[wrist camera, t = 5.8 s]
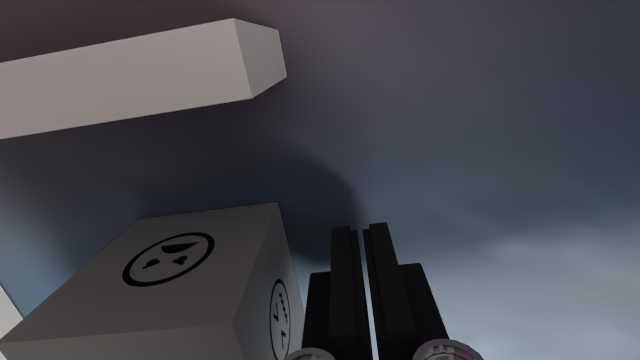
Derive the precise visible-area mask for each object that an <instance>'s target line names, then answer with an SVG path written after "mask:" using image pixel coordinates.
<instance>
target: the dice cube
mask: <svg viewBox="0 0 640 360" xmlns="http://www.w3.org/2000/svg"><path fill="white" fill-rule="evenodd" d="M304 319H305V314H304V310H303V306H302V301H301V297H300V293H299V289H298V285H297V280H296V276H295V272H294V268H293V264H292V259H291V255H290V251H289V247H288V242H287V238H286V234H285V230H284V226H283V221H282V217H281V213H280V209H279V205H278V202H272V203H264V204H256V205H248V206H240V207H232V208H224V209H216V210H208V211H201V212H193V213H185V214H177V215H169V216H161V217H153V218H145V219H137V220H136V221H135V222H134V223H133V224H132V225H131V226H129V227H128V228H127V229H126V230H125V231H124V232H123V233H121V234H120V235H119V236H118V237H117V238H116V239H114V240H113V241H112V242H111V243H110V244H109V245H108V246H106V247H105V248H104V249H103V250H102V251H101V252H100V253H98V254H97V255H96V256H95V257H94V258H93V259H92V260H90V261H89V262H88V263H87V264H86V265H85V266H84V267H82V268H81V269H80V270H79V271H78V272H77V273H75V274H74V275H73V276H72V277H71V278H70V279H69V280H67V281H66V282H65V283H64V284H63V285H62V286H61V287H59V288H58V289H57V290H56V291H55V292H54V293H53V294H51V295H50V296H49V297H48V298H47V299H46V300H45V301H43V302H42V303H41V304H40V305H39V306H38V307H36V308H35V309H34V310H33V311H32V312H31V313H30V314H28V315H27V316H26V317H25V318H24V319H23V320H22V321H20V322H19V323H18V324H17V325H16V326H15V327H14V328H12V329H11V330H10V331H9V332H8V333H7V334H6V335H4V336H3V337H2V338H1V339H0V351H1V353H2V354H3V355H4V357H5V358H6V359H7V360H283V359H284V358H285V357H287V356H288V355H290V354H291V353H293V352H295V351H297V350H300V349H301V345H302V336H303V328H304Z"/></svg>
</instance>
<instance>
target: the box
mask: <svg viewBox="0 0 640 360" xmlns="http://www.w3.org/2000/svg"><path fill="white" fill-rule="evenodd" d="M286 77H287V73H286V68H285V62H284V57H283V52H282V47H281V42H280V36H279V31H278V30H277V29H273V28H269V27H265V26H261V25H257V24H254V23H250V22H246V21H242V20H238V19H235V18H231V19H226V20H221V21H215V22H210V23H205V24H200V25H195V26H189V27H184V28H179V29H174V30H169V31H163V32H158V33H153V34H148V35H143V36H137V37H132V38H127V39H122V40H116V41H111V42H106V43H101V44H96V45H90V46H85V47H80V48H75V49H70V50H64V51H59V52H54V53H49V54H44V55H38V56H33V57H28V58H23V59H17V60H12V61H7V62H2V63H0V139H5V138H11V137H17V136H24V135H30V134H36V133H42V132H48V131H54V130H61V129H67V128H73V127H79V126H85V125H91V124H97V123H104V122H110V121H116V120H122V119H128V118H134V117H141V116H147V115H153V114H159V113H165V112H171V111H177V110H184V109H190V108H196V107H202V106H208V105H214V104H221V103H227V102H233V101H239V100H245V99H251V98H254V97H255V96H257V95H258V94H260V93H262V92H263V91H265V90H266V89H268V88H270V87H271V86H273V85H274V84H276V83H278V82H279V81H281V80H282V79H284V78H286ZM22 320H23V318H22V316H21V315H20V313H19V312H18V310H17V309H16V307H15V306H14V305H13V303H12V302H11V300H10V299H9V297H8V296H7V294H6V293H5V291H4V290H3V288H2V287H1V286H0V339H1V338H2V337H3V336H4V335H6V334H7V333H8V332H9V331H10V330H11V329H12V328H14V327H15V326H16V325H17V324H18V323H19V322H20V321H22ZM0 360H7V359H6V358H5V357H4V355H3V354H2V353H1V351H0Z"/></svg>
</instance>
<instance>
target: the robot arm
mask: <svg viewBox="0 0 640 360" xmlns="http://www.w3.org/2000/svg"><path fill="white" fill-rule="evenodd" d="M363 238H364V246H365V254H366V262H367V270H368V278H369V286H370V294H371V302H372V309H373V317H374V325H375V333H376V340H377V348H378V356H379V360H484V359H483V358H482V357H481V355H480V354H479V353H478V352H476V351H475V350H474V349H472V348H471V347H470V346H468V345H466V344H463V343H461V342H459V341H456V340H450V339H449V337H448V334H447V332H446V329H445V326H444V324H443V321H442V318H441V316H440V313H439V310H438V308H437V305H436V302H435V300H434V297H433V295H432V292H431V289H430V287H429V284H428V281H427V279H426V276H425V273H424V271H423V268H422V266H421V264H420V263H414V264H403V265H398V262H397V258H396V255H395V251H394V247H393V244H392V240H391V236H390V233H389V229H388V225H387V222H384V223H375V224H369V229H363ZM283 360H373V355H372V346H371V337H370V328H369V319H368V310H367V301H366V294H365V286H364V279H363V271H362V264H361V256H360V249H359V241H358V234H357V230H354V231H350V226H347V227H338V228H332V244H331V271H329V272H318V273H311V275H310V280H309V288H308V296H307V304H306V313H305V321H304V329H303V337H302V345H301V349H300V350H297V351H295V352H293V353H291V354H290V355H288V356H287V357H285V358H284V359H283Z"/></svg>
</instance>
